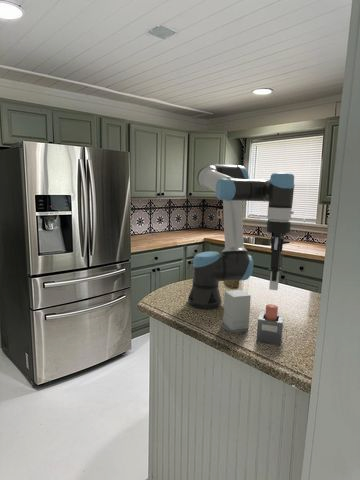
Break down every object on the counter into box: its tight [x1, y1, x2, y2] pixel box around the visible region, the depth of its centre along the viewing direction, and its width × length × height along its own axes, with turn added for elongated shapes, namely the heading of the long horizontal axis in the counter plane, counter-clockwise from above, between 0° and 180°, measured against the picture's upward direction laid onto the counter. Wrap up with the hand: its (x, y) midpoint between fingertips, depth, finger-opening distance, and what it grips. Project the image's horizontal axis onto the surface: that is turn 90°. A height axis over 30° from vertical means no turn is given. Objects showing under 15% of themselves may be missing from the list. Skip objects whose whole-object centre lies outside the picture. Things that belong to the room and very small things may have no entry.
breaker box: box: [256, 311, 285, 346], centre depth 112 cm, size 8×7×8 cm
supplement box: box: [222, 289, 252, 330], centre depth 120 cm, size 7×7×13 cm
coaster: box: [221, 321, 249, 335], centre depth 121 cm, size 10×10×1 cm
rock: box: [222, 281, 240, 289], centre depth 174 cm, size 11×9×10 cm
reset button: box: [264, 303, 279, 321], centre depth 111 cm, size 4×4×7 cm
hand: (273, 289), depth 110 cm, fingers closed
